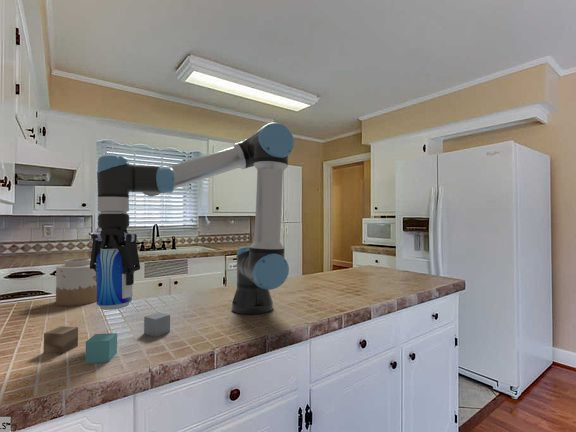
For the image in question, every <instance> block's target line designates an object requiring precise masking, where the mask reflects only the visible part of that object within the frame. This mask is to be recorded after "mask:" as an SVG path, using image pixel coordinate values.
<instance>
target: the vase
mask: <svg viewBox="0 0 576 432" xmlns="http://www.w3.org/2000/svg"><path fill="white" fill-rule="evenodd" d="M90 259H91V257H89V258H88V257H87V258H86V257H84V258H83V257H82V258H80V257H79V258H69V259H65V260H64V264H59V265H58V266H56V269H55V272H56V273H55V304H56V306H59V307H60V306H61V307H72V306H73V307H75V306H84V305H88V304H93V303H97V283H96V272H95V270H94V269H90ZM95 264H96V263H95Z"/></svg>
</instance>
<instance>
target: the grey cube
mask: <svg viewBox="0 0 576 432" xmlns="http://www.w3.org/2000/svg"><path fill="white" fill-rule="evenodd" d="M170 332H171V314H168V313H164V312H159V311H158V312H156V313H152V314H149V315H146V316H143V334H144V335H147V336H151V337H153V338H156V337H159V336H162V335H165V334H167V333H170Z"/></svg>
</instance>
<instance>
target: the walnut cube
mask: <svg viewBox="0 0 576 432" xmlns="http://www.w3.org/2000/svg"><path fill="white" fill-rule="evenodd" d="M78 346H79V327H78V326H62V325H61V326H58V327H55V328H53V329H51V330H48V331H45V332H44V333H43V354H50V353H51V354H55V355H64V354H66V353H68V352H69V351H71V350H73V349H75V348H77V347H78ZM63 353H64V354H63Z"/></svg>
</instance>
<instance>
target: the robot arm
mask: <svg viewBox="0 0 576 432" xmlns="http://www.w3.org/2000/svg"><path fill="white" fill-rule="evenodd" d="M294 145H295V139H294V136H293V134H292V132H291V130H290V129H289V128H288V127H287V126H286V125H284V124H282V123H279V122H270V123H267V124H264V125H263V126H261V128H260V129H259V130H257V131H256V132H254V133H253V134H252V135H250V136H248V138H246V139H244V140H242V141H239V142H235V143H234V144H233V146H232V147H229V148H226V149H223V150H218V151H216V152H212V153H209V154H206V155H203V156H199V157H195V158H191V159H188V160H186V161H183V162H179V163H175V164H173V165H169V166H162V165H158V166H155V165H152V166H151V165H133V164H130V162H129V159H128V158H127V157H125V156H121V155H103V156H100V157H99V158H98V160H97V172H96V175H97V176H96V177H97V212H98V213H99V214H98V215H97V227H98V228H100V229H101V230H100V233H92V235H91V239H92V246H91V254H90V258H91V259H90V269H94V270H95V272H96V264H95V263H96V257H97V255H98V254H99V252H100V251H101V250H100V249H101V248H102V249H112V248H114V249H118V250H119V252H120V254H121V257H122V267H123V269H124V272H123V274H122V298H128V297H131V296H132V297H133V285H134V283H135V281H134V280H135V279H134V278H135V276H134V274H135V272H137V271H140V270H141V264H140V257H139V252H138V251H139V250H138V247H137V246H138V245H137V237H138V235H137V233H129V232H128V230H127V229H128V227H130V215H129V213H128V212H130V193H142V194H144V195H146V196H147V197H155V196H158V195H160V194H166V193H172V192H174V190H175V189H178V188H181V187H183V186H187V185H189V184H193V183H196V182H198V181H203V180H205V179H208V178H211V177H214V176H215V177H216V176H217V175H220V174H224V173H226V172H230V171H233V170H236V169H241V170H244V169H249V168H251V167H254V168H255V169H256V170H257V173H256V174H257V175H256V192H255V193H256V195H255V196H256V198H255V216H254V217H255V218H254V219H255V221H254V239H253V240H254V241H253V242H252V243H251V244H250V245H249V246H241V247H239V248H238V249H237V251H236V289H235V293H234V296H233V299H232V301H231V302H232V303H231V311H233V312H234V313H237V314H242V315H258V314H259V315H260V314H265V313H269V312H271V311H272V310H273V308H274V302H273V299H272V295H271V292H270V291H271V290H275V289H278V288H279V287H281V286H282V285H283V284H284V283H285V282H286V280H287V279H288V277H289V271H290V267H289V264H288V260H287V259H286V258H285V246H284V245H283V244H282V243H281V231H282V230H281V226H282V206H283V205H282V204H283V203H282V202H283V178H284V177H283V176H284V171H285V170H286V169H287V168H288V165H289V164H288V163H289V155H290V154H291V152H293V150H294V147H295V146H294ZM128 267H129V268H128ZM96 283H97V275H96Z"/></svg>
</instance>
